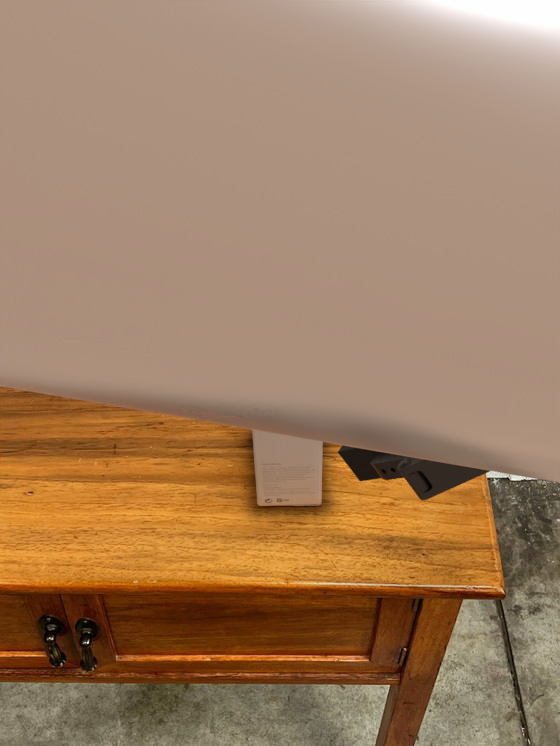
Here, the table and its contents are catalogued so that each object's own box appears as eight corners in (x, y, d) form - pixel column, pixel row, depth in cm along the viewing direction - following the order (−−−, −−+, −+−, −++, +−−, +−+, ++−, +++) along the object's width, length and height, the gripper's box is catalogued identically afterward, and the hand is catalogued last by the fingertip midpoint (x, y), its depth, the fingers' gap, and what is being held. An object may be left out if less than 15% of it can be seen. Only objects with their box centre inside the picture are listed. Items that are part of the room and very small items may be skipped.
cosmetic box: (321, 507, 68) (330, 392, 57) (253, 508, 68) (248, 393, 57) (316, 433, 74) (323, 316, 63) (253, 434, 74) (249, 317, 63)
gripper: (654, 554, 34) (340, 563, 51) (762, 262, 49) (490, 343, 65) (569, 425, 32) (273, 478, 49) (707, 162, 47) (442, 272, 63)
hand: (397, 401), depth 57 cm, fingers open, 13 cm apart
